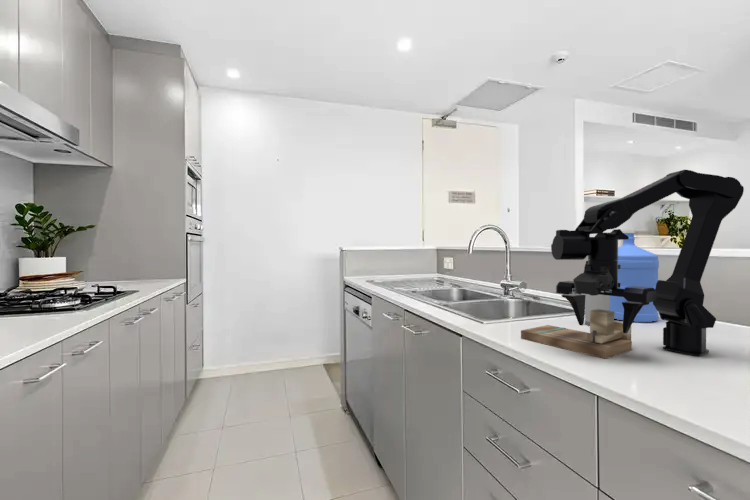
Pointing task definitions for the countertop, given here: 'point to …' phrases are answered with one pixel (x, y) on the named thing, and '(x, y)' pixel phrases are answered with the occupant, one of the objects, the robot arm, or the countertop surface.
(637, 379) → the countertop surface
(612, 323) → the beech gauge
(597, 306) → the travel mug
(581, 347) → the walnut board
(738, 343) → the countertop surface
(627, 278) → the water jug
